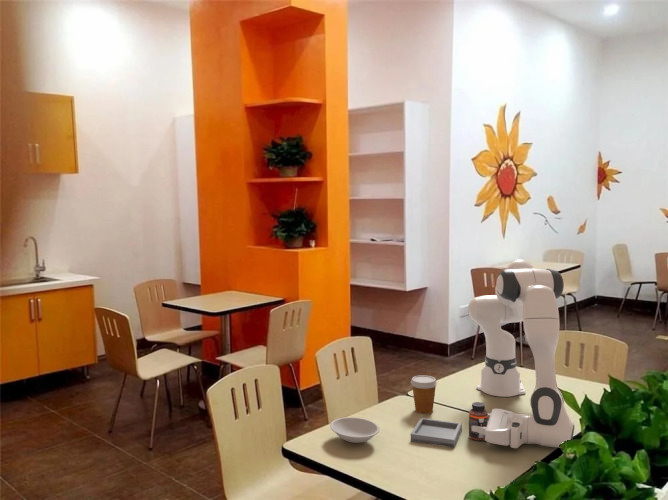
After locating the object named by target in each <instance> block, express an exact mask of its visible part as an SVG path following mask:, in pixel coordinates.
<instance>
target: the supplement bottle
mask: <svg viewBox="0 0 668 500" xmlns="http://www.w3.org/2000/svg"><path fill="white" fill-rule="evenodd" d="M485 408H486V405H485V403H483V402H480V401H475V402H472V403H471V409H469V411H468V436H469V439H471V440H474V441H478V442H479V441H481V442H482V441H485V435H482V434H480V433H478V432H473V431H472V425H473V424H474V425H478V426H480V427H487V424H488V413H489V412H488V411H487V410H486V409H485Z"/></svg>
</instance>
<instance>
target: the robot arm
mask: <svg viewBox="0 0 668 500" xmlns="http://www.w3.org/2000/svg"><path fill="white" fill-rule="evenodd" d="M564 289H565V288H564V279H563V276H562V274H561V273H560V272H559V271H558V270H555V269H550V268H546V269H545V268H544V269H543V268H534V267H533V265H532V264H531V262H529V261H527V260H525V259H516V260H513V261H512V262H510V263H509V264H508V265H507V266H506V268H505V269H503V270H501V271H500V272H499V273H498V275H497V277H496V282H495V288H494V290H495V291H494V293H495V294H491V295H487V294H486V295H479V296H475V297H473V298H471V300H469V303H468V306H467V312H468V315H469V317H470V319H471V320H472V321H473V322H474V323H476V324H477V325H478V326H479V327H480V328H481V329H482V332H483V334H484V337H485V346H486V351H485V353H486V355H485V356H484V357H485V358H484V367H482V369H481V371H480V372H481V373H480V382H479V384H477V385H476V389H477V390H479V391H482V392H483V393H485V394H487V395H489V396H492V397H493V396H495V397H501V398H502V397H504V398H506V397H514V396H518V395H526V390H525V387H524V384H523V382H522V380H521V378H520V377H521V376H520V375H521V374H520V372H519V370H518V369H517V362H518V361H517V356H516V340H515V336H514V335H513V334H511V332H509V331H507V330H504V329H502V323H503V324H504V323H505V324H506V323H521V322H523V323H522V324H523V331H524V335H525V339H526V343H527V344H528V346H529V348H530V350H531V353H532V355H533V360H534V368H535V369H534V371H535V373H534V374H535V386H534V389H533V392H532V394H531V395H530V399H529V404H530V408H531V413H532V414H526V413H525V414H524V413H516V412H514V411H512V410H507V409H503V408H492V410H491V412H488V424H487V427H480V426H478V425H474V424H473V425H472V431H473V432H478V433H480V434H482V435H485V440H484V441H485V442H487V443H489V444H494V445H498V446H509V447H510V448H511V449H512V448H513V449H518V448H519V447H520V446H522V445H523V444H525V445H526V444H529V445H532V444H537V445H540V446H542V447H549V448H550V447H551V448H560V447H559V445H560V444H561V443H562V442H564V441H567V440H571V439H572V440H573V439H574V433H575V423H574V422H573V420H572V419H571V418H570V416H569V413H568V412H567V410H566V407H565V401H564V396H563V394H562V392H561V391H560V389H559V386H558V384H557V379H556V378H557V375H556V365H555V364H556V361H555V360H556V359H555V357H556V351H557V347H558V343H559V339H560V338H559V337H560V329H561V327H560V322H561V321H560V313H559V307H558V301H557V299H559V298H560V297H561V296H562V294H563V292H564ZM562 396H563V397H562Z"/></svg>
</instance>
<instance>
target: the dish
mask: <svg viewBox="0 0 668 500" xmlns="http://www.w3.org/2000/svg"><path fill="white" fill-rule="evenodd" d="M329 427H330V430H332V431H333V432H334V433H335V435H337V436H338V437H339V438H341V439H342V440H344V441H346V442H348V443H349V442H350V443H358V444H361V443H364V442H368V441H370V440H372V438H374V436H376V435H378V434H379V433H380V426H379V424H377V423H376V422H374V421H372V420H370V419H367V418H364V417H363V418H362V417H354V416H351V417H350V416H347V417H346V416H345V417H344V416H343V417H340V418H336V419H334V420H333V421H331V422H330V424H329Z"/></svg>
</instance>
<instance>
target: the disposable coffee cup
mask: <svg viewBox="0 0 668 500" xmlns="http://www.w3.org/2000/svg"><path fill="white" fill-rule="evenodd" d="M410 384H411V386H412V387H411V389H412V394H413V401H414V402H413V403H414V408H415V411H416V413H419V414H423V415H427V414H431V413H433V411H434V403H435V395H436V394H435V393H436V386H437V384H438V382H437V379H436V377H434V376H431V375H424V374H423V375H420V374H419V375H415V376H413V377H412V378H411V380H410Z"/></svg>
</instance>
